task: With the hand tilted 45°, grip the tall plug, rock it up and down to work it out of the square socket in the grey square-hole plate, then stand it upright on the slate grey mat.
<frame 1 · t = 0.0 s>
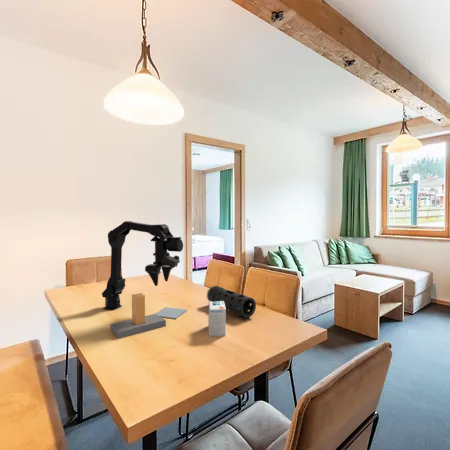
hand: (161, 283, 137), 15 cm above the table, tool pointing down, fingers open, 9 cm apart
plug: (138, 328, 120), resting in grey square-hole plate
grey square-hole plate: (138, 327, 120), on the table
mat: (170, 313, 138), on the table
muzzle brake: (229, 311, 141), on the table
light bulb box: (216, 331, 118), on the table
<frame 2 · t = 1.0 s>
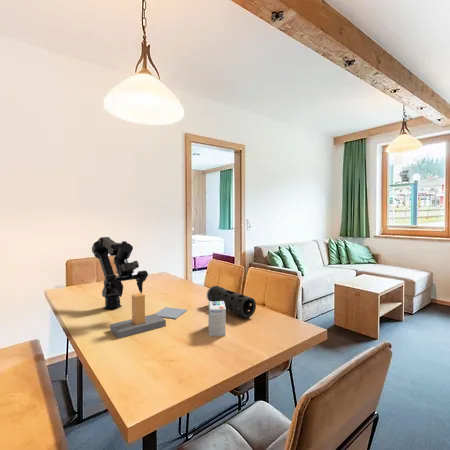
hand: (131, 294, 126), 12 cm above the table, tool tilted 45°, fingers open, 9 cm apart
nothing on the table moved.
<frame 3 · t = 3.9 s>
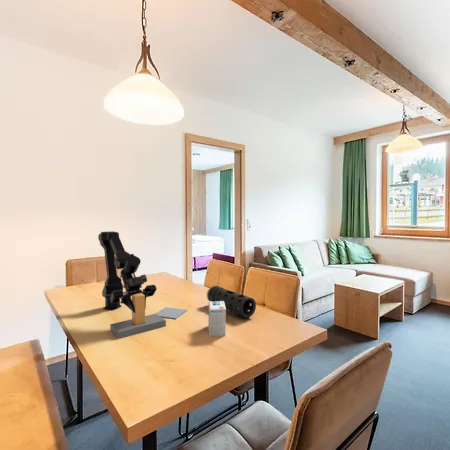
hand: (139, 311, 119), 8 cm above the table, tool tilted 45°, fingers closed on plug, 4 cm apart
plug: (138, 328, 120), resting in grey square-hole plate, touching gripper
everything else where it was.
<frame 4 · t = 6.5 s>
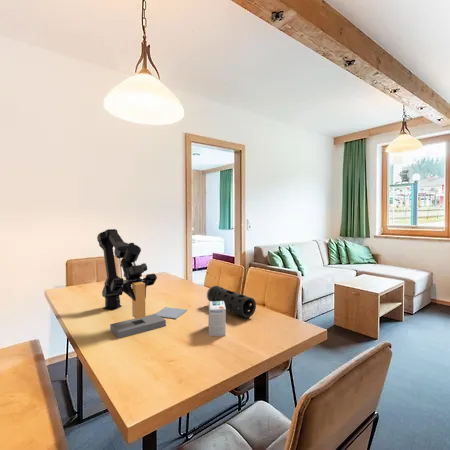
hand: (140, 299, 119), 12 cm above the table, tool tilted 45°, fingers closed on plug, 4 cm apart
plug: (138, 316, 120), point 5 cm above the table, touching gripper
everything else where it was.
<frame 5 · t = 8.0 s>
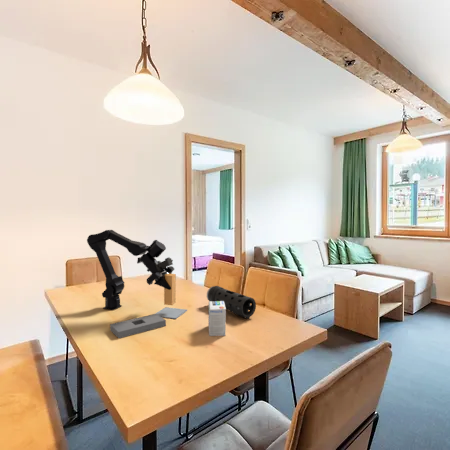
hand: (172, 288, 137), 12 cm above the table, tool tilted 45°, fingers closed on plug, 4 cm apart
plug: (170, 303, 137), point 5 cm above the table, touching gripper
everything else where it was.
when the fingers open (9 cm above the table, at t = 9.1 s): plug drops 1 cm, resting on mat.
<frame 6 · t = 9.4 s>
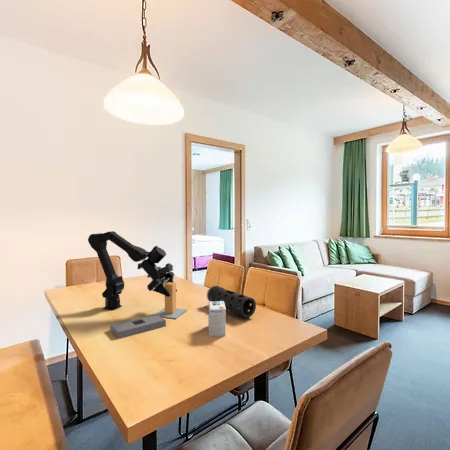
hand: (173, 293, 137), 10 cm above the table, tool tilted 45°, fingers open, 8 cm apart
plug: (170, 312, 138), resting on mat
everything else where it was.
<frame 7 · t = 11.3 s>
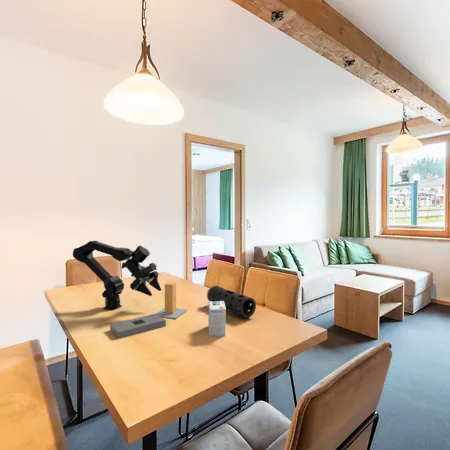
hand: (156, 292, 139), 9 cm above the table, tool tilted 45°, fingers open, 9 cm apart
nothing on the table moved.
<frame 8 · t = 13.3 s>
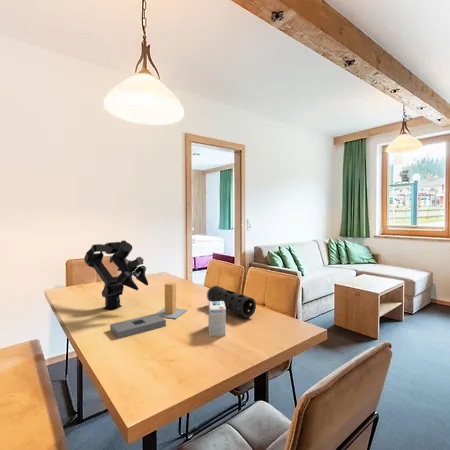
hand: (142, 287, 138), 13 cm above the table, tool tilted 45°, fingers open, 9 cm apart
nothing on the table moved.
at the end: plug inside the target area on the mat (0.0 cm from its centre), point 0.5 cm above the mat's base; plug tilted 0°; the gripper is holding nothing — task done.
